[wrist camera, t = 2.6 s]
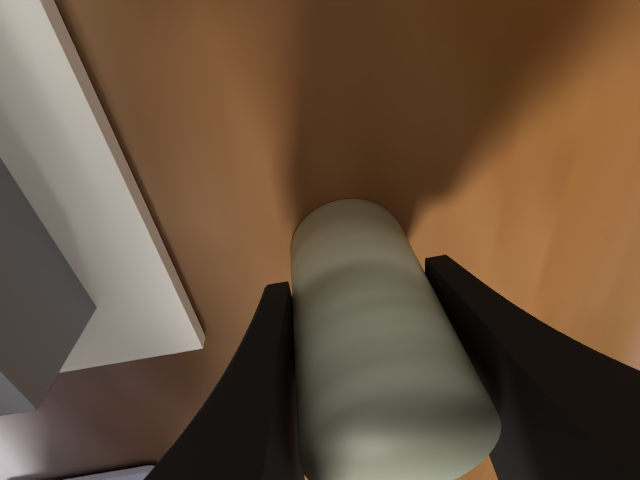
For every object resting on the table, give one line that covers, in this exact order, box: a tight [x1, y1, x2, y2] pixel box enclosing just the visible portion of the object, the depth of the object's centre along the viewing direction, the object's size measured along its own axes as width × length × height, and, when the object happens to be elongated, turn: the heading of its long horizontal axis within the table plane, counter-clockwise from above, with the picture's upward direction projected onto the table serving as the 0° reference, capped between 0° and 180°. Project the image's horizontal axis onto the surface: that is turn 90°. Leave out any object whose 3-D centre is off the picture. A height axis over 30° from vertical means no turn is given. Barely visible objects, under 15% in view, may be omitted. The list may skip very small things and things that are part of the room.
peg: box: [290, 199, 501, 480], centre depth 10 cm, size 4×4×7 cm
